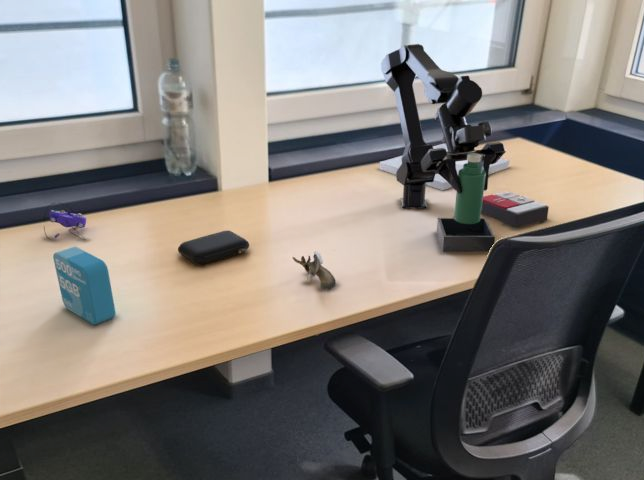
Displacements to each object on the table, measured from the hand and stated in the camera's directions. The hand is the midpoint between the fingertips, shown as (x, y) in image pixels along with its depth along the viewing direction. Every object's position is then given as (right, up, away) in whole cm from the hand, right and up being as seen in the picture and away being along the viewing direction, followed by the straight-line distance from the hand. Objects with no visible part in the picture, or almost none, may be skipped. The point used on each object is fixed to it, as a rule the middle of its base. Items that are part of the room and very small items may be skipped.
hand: (473, 191), depth 167 cm
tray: (-1, -10, +9) cm, 14 cm away
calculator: (+14, 0, +24) cm, 28 cm away
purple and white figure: (-94, -8, +12) cm, 95 cm away
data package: (-79, -29, -21) cm, 86 cm away
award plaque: (+1, +20, +56) cm, 59 cm away
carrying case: (-58, -14, +3) cm, 60 cm away
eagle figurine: (-35, -21, -8) cm, 42 cm away
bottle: (0, -5, +5) cm, 7 cm away
